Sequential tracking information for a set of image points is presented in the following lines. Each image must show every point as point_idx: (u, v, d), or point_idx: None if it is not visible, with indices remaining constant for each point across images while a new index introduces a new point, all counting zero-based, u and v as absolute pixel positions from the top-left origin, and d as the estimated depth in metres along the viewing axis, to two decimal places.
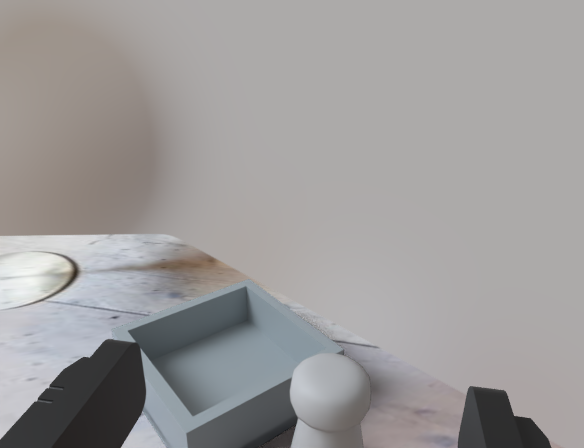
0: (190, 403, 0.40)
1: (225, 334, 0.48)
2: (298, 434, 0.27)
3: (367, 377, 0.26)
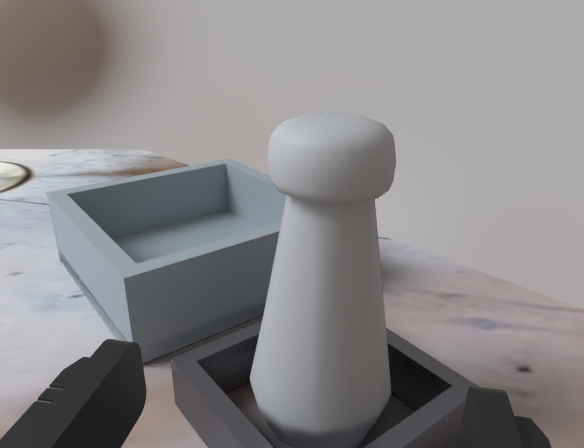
0: None
1: (198, 221, 0.38)
2: (281, 237, 0.17)
3: None
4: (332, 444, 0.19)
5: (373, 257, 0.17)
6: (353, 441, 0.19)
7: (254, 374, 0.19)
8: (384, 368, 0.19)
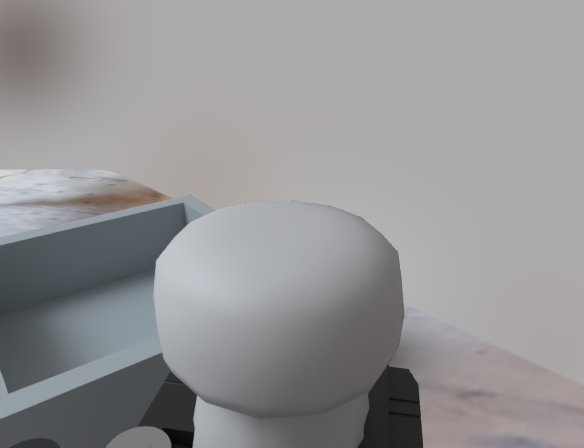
0: None
1: (149, 276, 0.30)
2: None
3: (393, 250, 0.08)
4: None
5: None
6: None
7: None
8: None
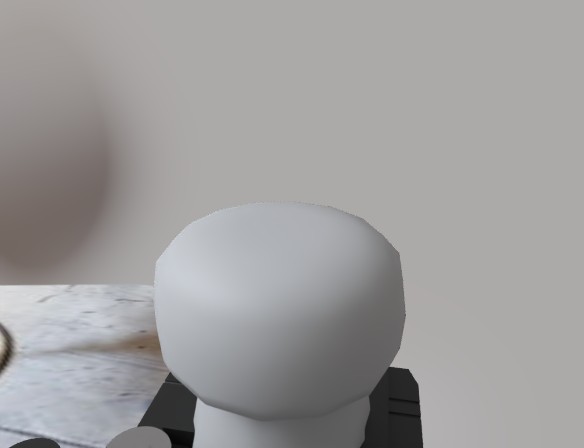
0: None
1: None
2: None
3: (395, 252, 0.08)
4: None
5: None
6: None
7: None
8: None
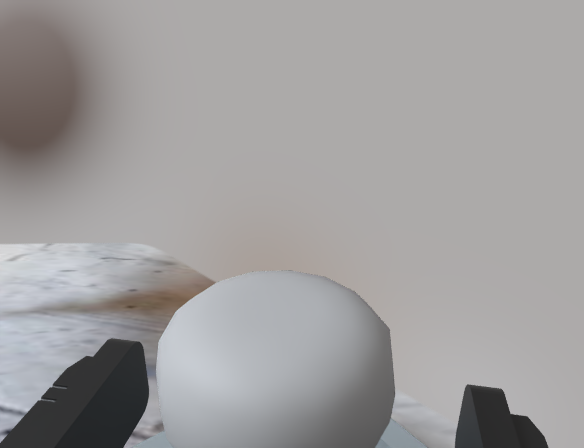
0: None
1: None
2: None
3: (385, 329, 0.09)
4: None
5: None
6: None
7: None
8: None
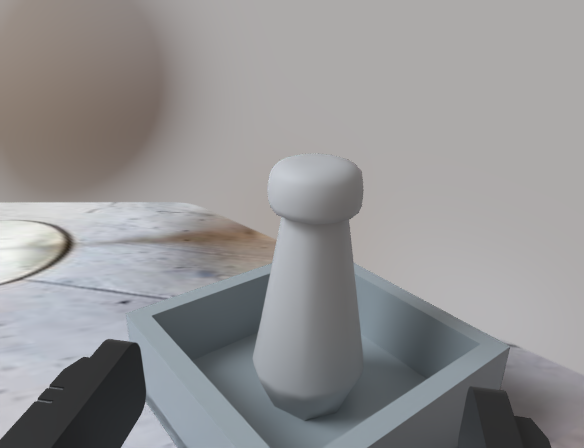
0: (257, 434, 0.24)
1: None
2: (277, 248, 0.23)
3: (359, 170, 0.22)
4: (317, 408, 0.24)
5: (348, 263, 0.23)
6: (333, 406, 0.25)
7: (256, 354, 0.25)
8: (357, 348, 0.24)
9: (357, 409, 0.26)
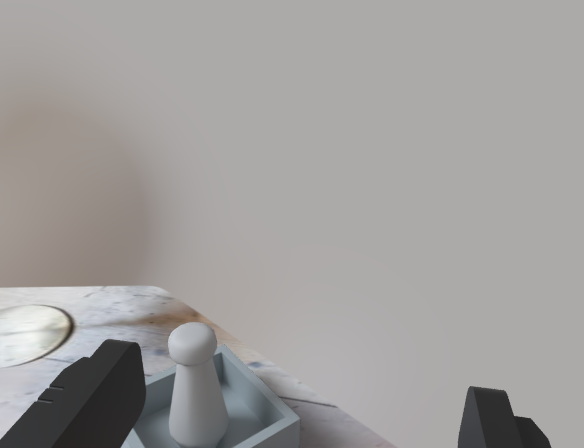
0: None
1: None
2: (176, 370, 0.45)
3: (213, 335, 0.44)
4: None
5: (211, 379, 0.45)
6: None
7: (169, 421, 0.47)
8: (220, 419, 0.46)
9: None
